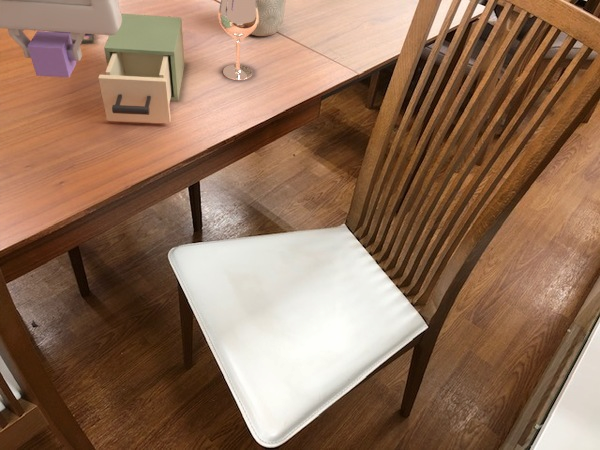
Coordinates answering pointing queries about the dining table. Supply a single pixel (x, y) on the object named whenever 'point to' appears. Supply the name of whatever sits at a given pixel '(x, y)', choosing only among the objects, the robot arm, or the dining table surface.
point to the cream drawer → (137, 88)
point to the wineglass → (238, 30)
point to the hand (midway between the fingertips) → (54, 57)
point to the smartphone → (87, 38)
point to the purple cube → (51, 54)
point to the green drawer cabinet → (151, 42)
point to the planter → (269, 17)
